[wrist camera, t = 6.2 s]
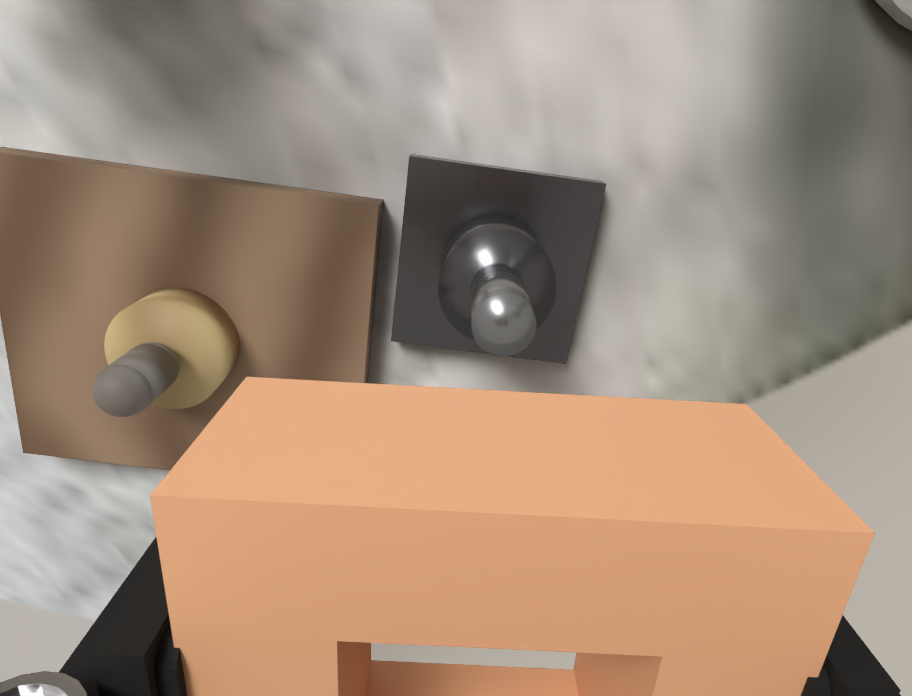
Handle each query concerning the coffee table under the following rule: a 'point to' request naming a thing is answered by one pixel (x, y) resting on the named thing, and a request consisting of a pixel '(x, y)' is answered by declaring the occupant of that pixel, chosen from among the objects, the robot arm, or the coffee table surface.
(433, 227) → the stand
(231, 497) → the square peach frame
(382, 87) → the coffee table surface
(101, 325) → the toggle switch
